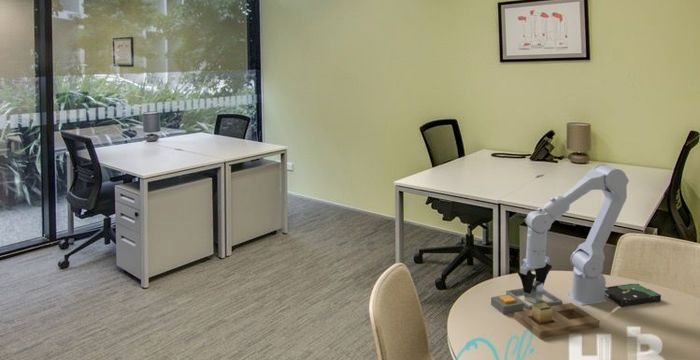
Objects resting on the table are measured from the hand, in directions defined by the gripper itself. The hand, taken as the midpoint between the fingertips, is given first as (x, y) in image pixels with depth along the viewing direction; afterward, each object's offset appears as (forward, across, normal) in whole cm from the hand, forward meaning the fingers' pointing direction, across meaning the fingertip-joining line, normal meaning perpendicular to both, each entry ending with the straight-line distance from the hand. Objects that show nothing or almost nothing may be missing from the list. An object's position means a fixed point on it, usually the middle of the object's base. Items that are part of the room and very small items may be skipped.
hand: (533, 289), depth 163 cm
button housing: (+4, +11, -3) cm, 12 cm away
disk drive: (+5, -25, +20) cm, 32 cm away
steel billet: (+4, 0, 0) cm, 4 cm away
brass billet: (+4, +14, +10) cm, 17 cm away
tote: (+4, 0, 0) cm, 4 cm away
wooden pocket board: (+4, +9, +12) cm, 16 cm away
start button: (+4, +11, -3) cm, 12 cm away
